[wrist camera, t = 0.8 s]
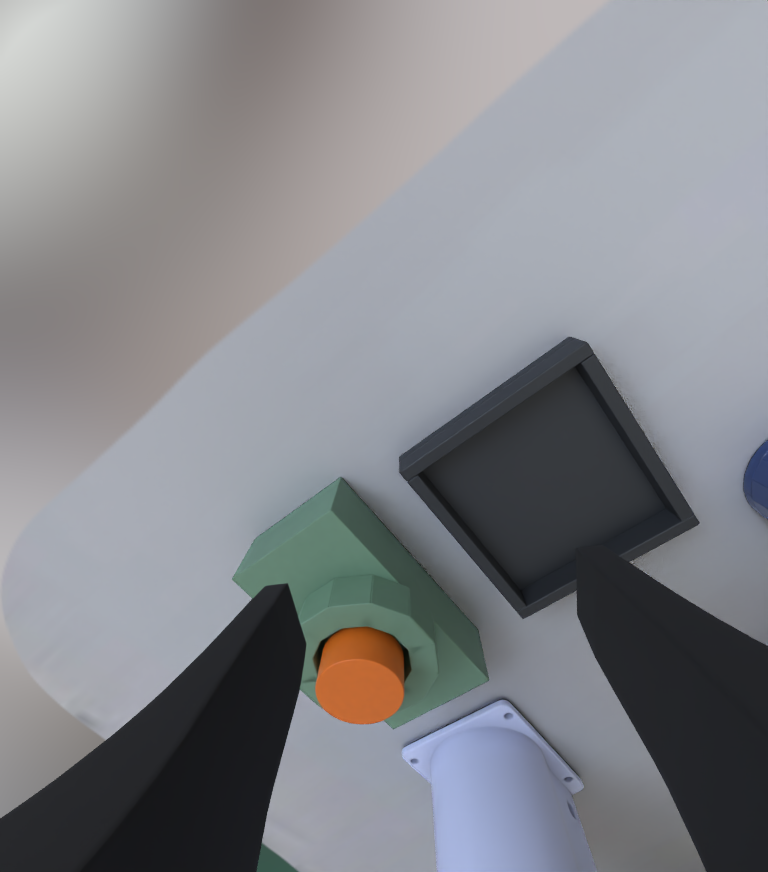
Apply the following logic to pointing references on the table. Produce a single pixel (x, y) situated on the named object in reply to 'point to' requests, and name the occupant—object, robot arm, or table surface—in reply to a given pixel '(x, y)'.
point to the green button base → (366, 596)
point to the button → (361, 675)
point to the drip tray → (547, 478)
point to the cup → (758, 481)
